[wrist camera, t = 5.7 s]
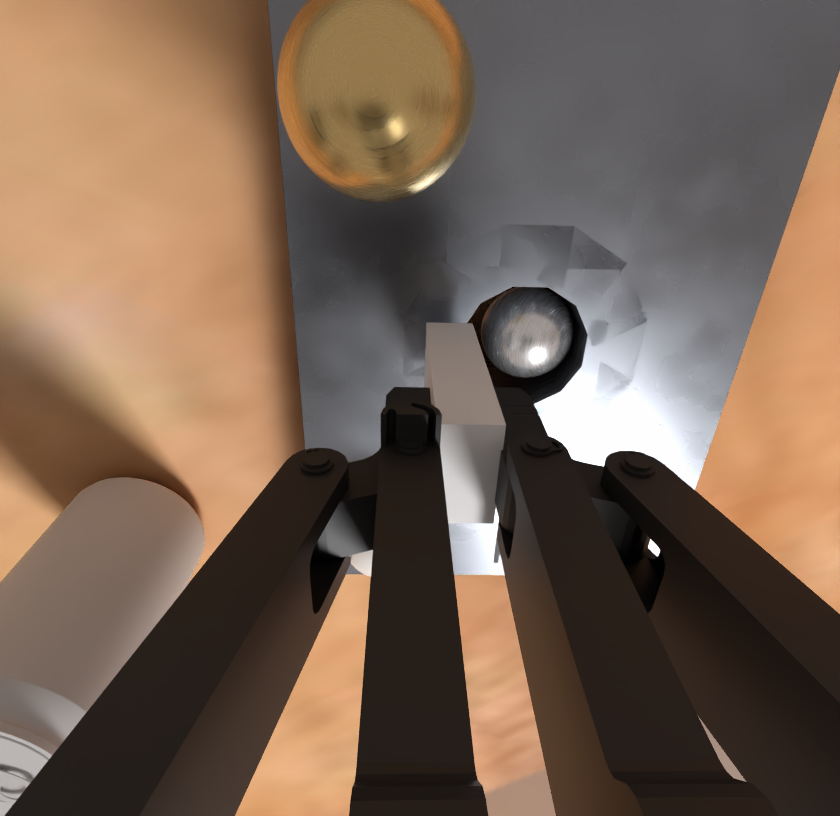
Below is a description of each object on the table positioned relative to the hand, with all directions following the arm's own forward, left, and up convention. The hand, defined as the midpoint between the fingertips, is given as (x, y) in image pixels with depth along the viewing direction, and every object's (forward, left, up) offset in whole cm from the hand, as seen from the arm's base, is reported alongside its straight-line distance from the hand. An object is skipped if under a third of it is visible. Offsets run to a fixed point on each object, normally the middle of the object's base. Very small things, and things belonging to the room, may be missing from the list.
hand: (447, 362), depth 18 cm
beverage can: (-14, -11, -5) cm, 19 cm away
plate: (+3, 0, -5) cm, 6 cm away
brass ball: (-2, +7, +1) cm, 8 cm away
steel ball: (+3, 0, -3) cm, 5 cm away
